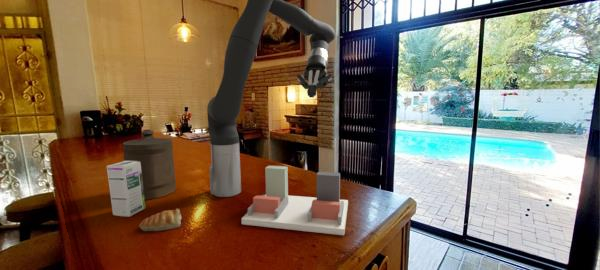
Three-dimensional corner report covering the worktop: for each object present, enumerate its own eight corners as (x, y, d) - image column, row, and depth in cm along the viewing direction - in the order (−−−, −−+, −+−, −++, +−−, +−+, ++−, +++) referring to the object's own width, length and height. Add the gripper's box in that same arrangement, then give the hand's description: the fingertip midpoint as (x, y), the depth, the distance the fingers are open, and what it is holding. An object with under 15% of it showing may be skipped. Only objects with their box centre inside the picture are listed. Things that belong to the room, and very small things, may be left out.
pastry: (138, 236, 61) (136, 221, 60) (142, 224, 67) (140, 210, 66) (181, 228, 65) (180, 213, 64) (181, 217, 71) (180, 204, 70)
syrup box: (129, 217, 71) (124, 165, 69) (111, 215, 72) (106, 164, 70) (146, 208, 76) (141, 160, 74) (129, 207, 77) (124, 160, 75)
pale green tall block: (266, 200, 77) (265, 168, 76) (269, 196, 80) (268, 165, 79) (285, 202, 76) (284, 169, 75) (288, 198, 79) (287, 166, 77)
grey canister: (176, 183, 100) (171, 126, 97) (176, 195, 86) (171, 130, 83) (130, 189, 93) (124, 128, 90) (123, 203, 80) (115, 133, 77)
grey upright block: (316, 210, 70) (316, 174, 69) (318, 205, 73) (318, 171, 72) (338, 212, 69) (339, 176, 67) (339, 207, 72) (340, 172, 70)
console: (241, 224, 66) (240, 203, 65) (266, 198, 83) (266, 181, 83) (344, 235, 60) (344, 213, 59) (348, 204, 77) (348, 187, 77)
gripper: (298, 55, 94) (289, 87, 84) (334, 53, 91) (330, 86, 81) (301, 71, 100) (294, 103, 90) (335, 70, 97) (332, 103, 87)
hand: (311, 95), depth 85 cm, fingers closed
